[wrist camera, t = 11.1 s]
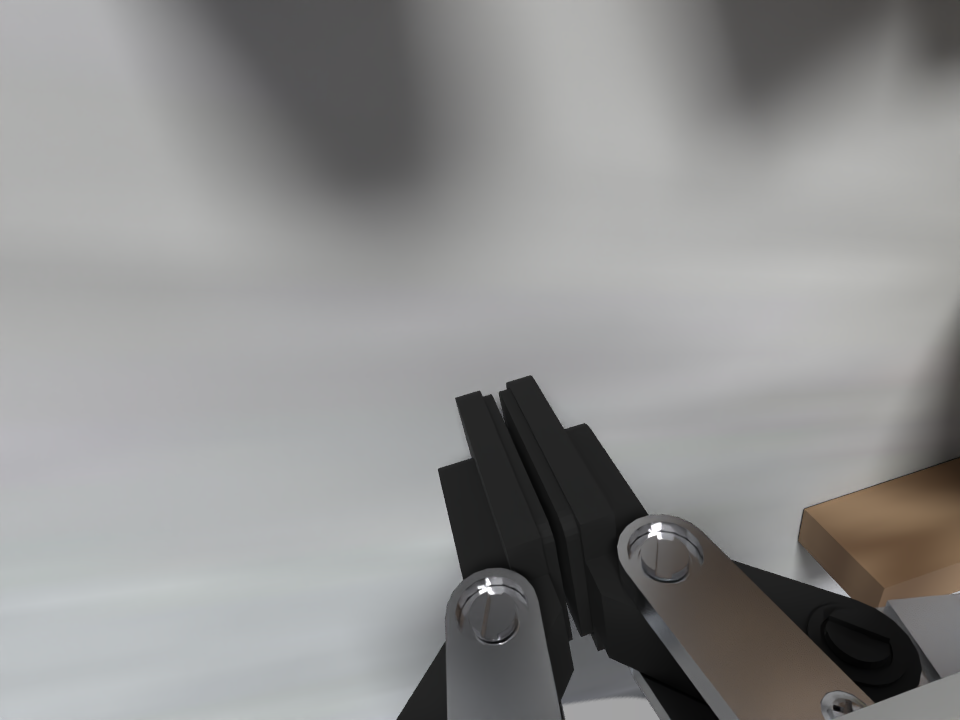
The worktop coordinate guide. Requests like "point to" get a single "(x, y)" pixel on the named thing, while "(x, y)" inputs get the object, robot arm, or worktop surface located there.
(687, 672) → the robot arm
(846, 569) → the bay
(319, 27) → the worktop surface
